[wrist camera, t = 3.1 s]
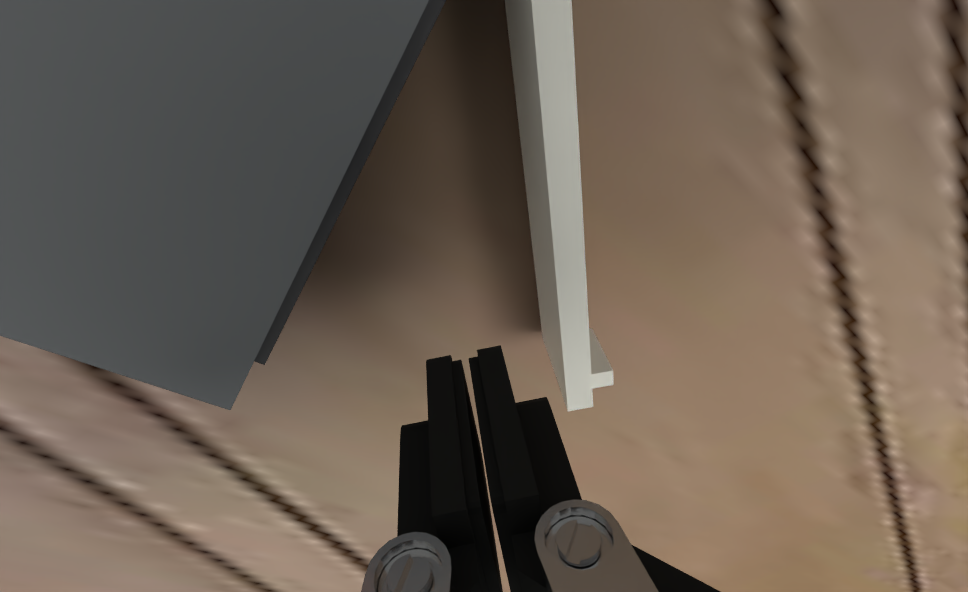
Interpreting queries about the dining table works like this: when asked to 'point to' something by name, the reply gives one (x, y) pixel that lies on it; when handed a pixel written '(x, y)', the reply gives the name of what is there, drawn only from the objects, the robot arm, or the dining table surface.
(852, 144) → the dining table surface
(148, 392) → the dining table surface
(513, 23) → the light grey flat bar
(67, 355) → the gray button box
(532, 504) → the robot arm
